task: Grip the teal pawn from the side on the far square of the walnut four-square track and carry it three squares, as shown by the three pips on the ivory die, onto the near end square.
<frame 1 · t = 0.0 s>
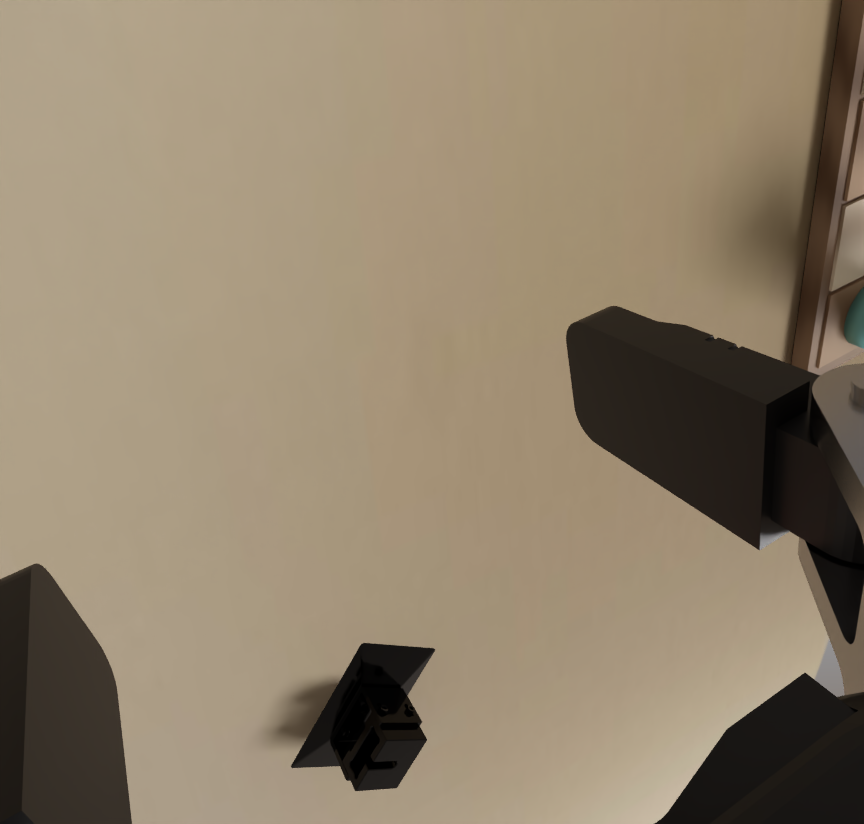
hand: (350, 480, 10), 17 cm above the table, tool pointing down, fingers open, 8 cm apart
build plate: (358, 698, 41), on the table
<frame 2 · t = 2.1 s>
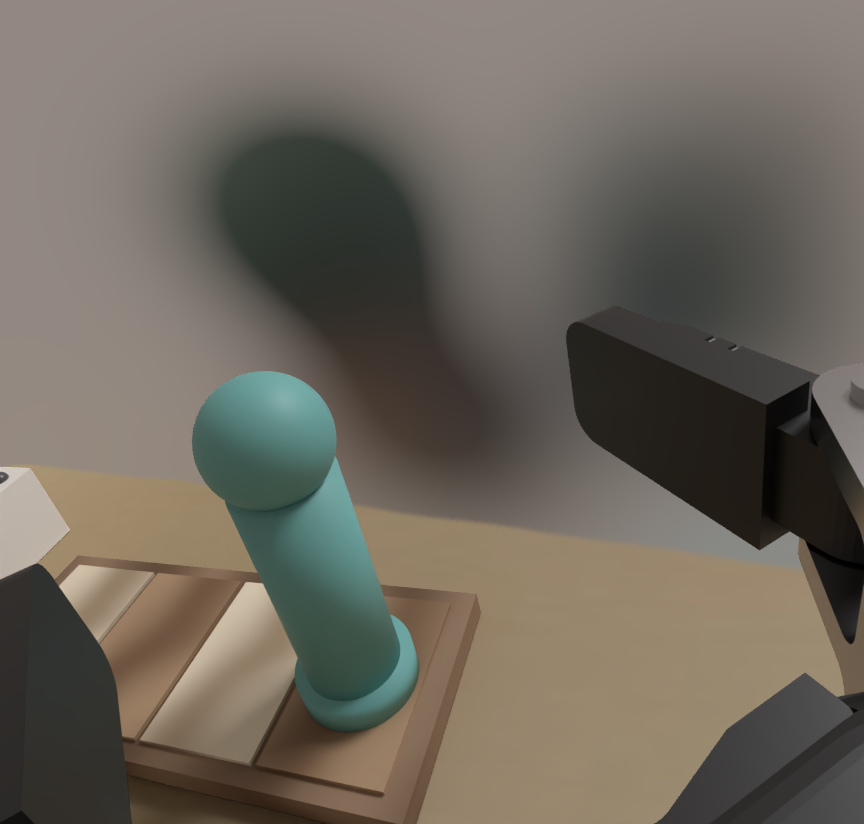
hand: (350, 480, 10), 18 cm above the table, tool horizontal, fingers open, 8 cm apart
die: (11, 556, 42), on the table
pawn: (361, 676, 28), point 1 cm above the table, touching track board
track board: (207, 671, 31), on the table
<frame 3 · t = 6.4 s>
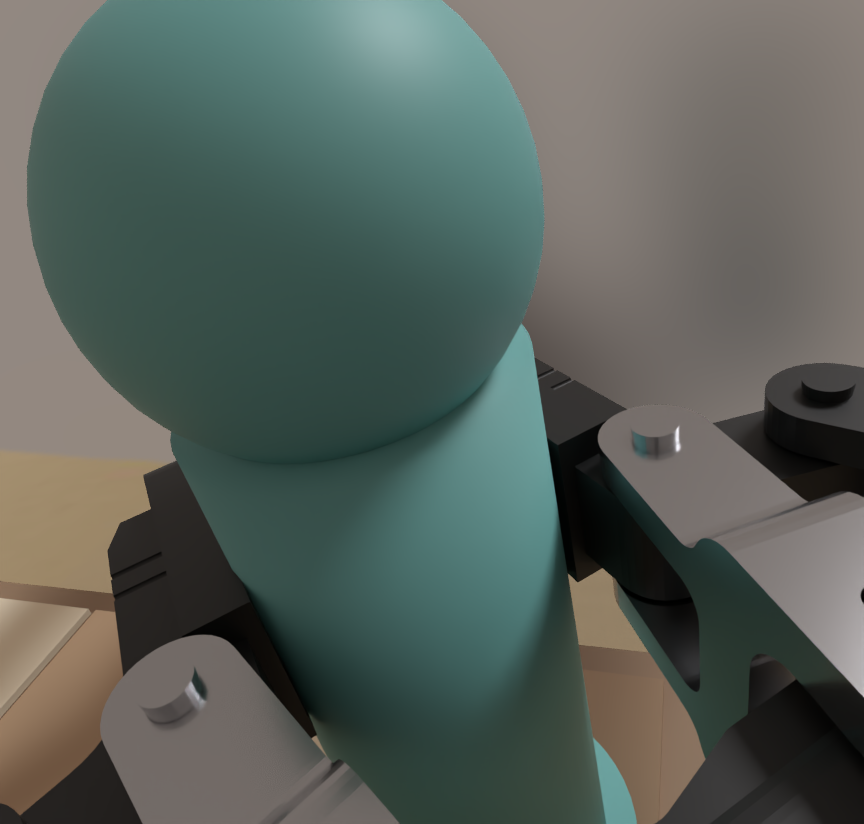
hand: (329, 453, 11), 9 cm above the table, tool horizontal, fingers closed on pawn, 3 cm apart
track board: (173, 810, 16), on the table
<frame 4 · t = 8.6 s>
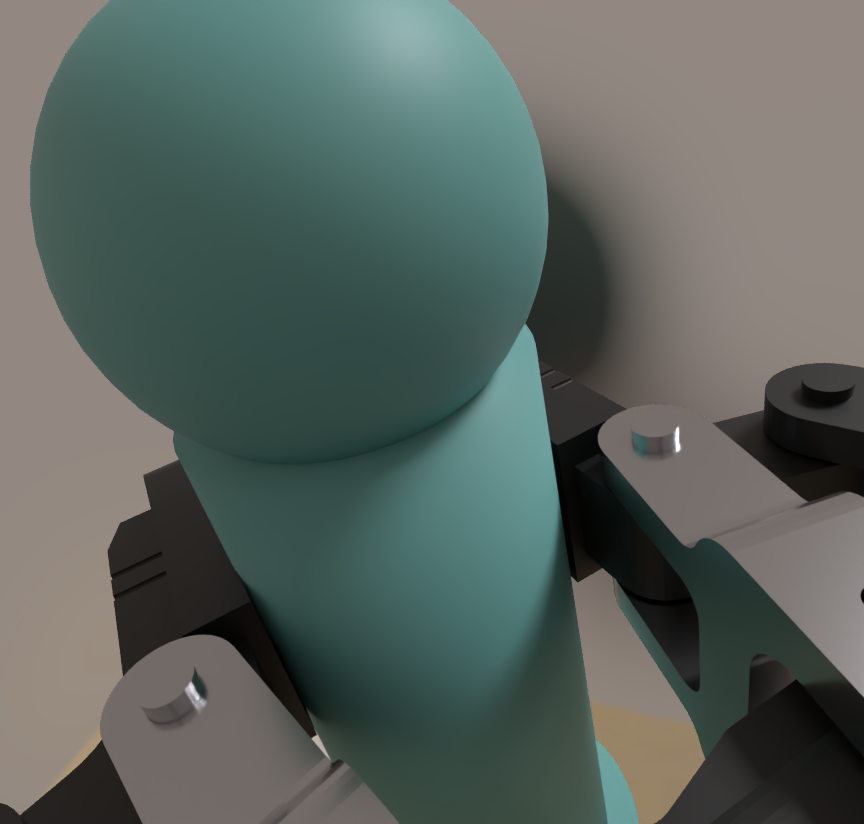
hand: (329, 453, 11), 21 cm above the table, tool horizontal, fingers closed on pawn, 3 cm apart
when the fingers open (10 cm above the table, at t = 11.3 s): pawn drops 1 cm, resting on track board.
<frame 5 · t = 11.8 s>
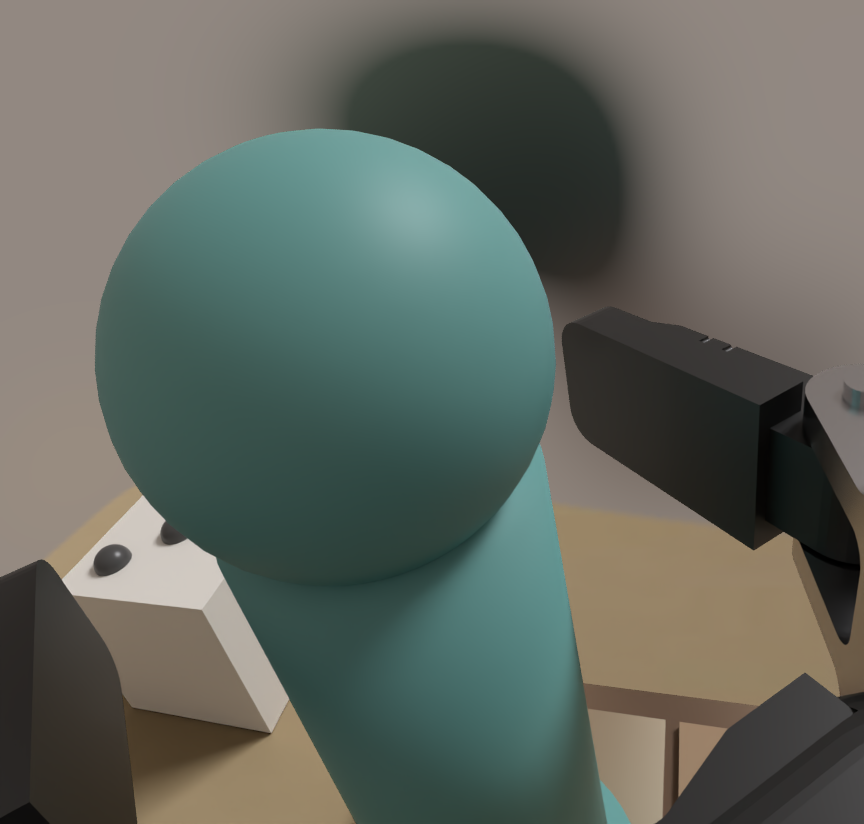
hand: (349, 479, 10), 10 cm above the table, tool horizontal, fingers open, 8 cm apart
die: (242, 648, 22), on the table
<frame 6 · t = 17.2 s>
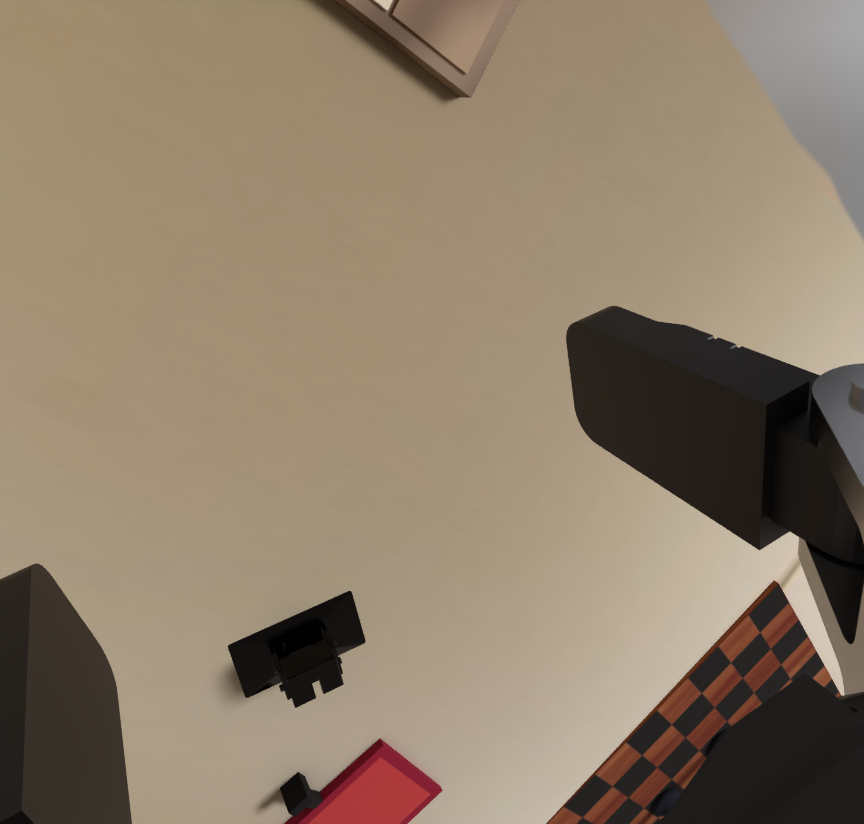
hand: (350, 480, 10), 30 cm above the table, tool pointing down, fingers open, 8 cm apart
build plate: (295, 637, 51), on the table
chessboard: (704, 754, 90), on the table
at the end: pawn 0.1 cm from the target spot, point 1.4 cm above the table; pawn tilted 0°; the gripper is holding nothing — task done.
